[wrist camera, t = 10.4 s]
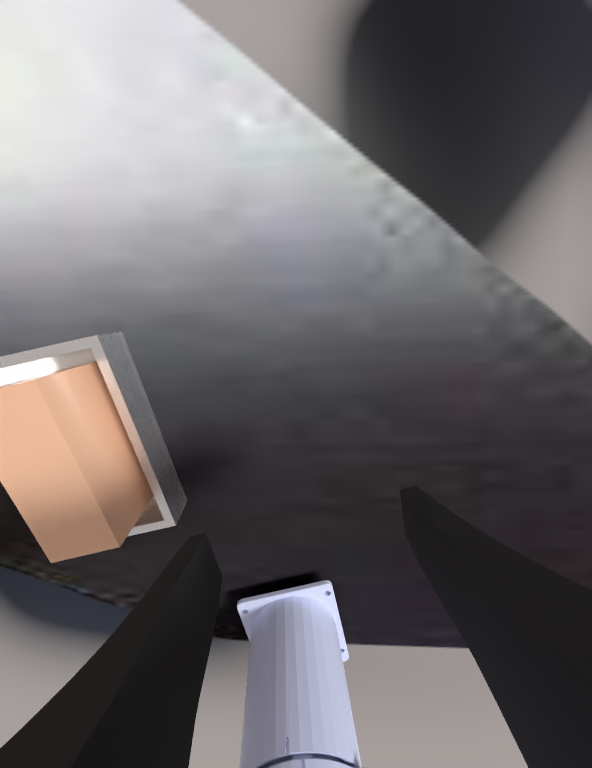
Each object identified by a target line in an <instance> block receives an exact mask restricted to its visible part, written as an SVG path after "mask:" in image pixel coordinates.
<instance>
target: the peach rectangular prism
mask: <svg viewBox="0 0 592 768" xmlns="http://www.w3.org/2000/svg"><path fill="white" fill-rule="evenodd" d="M0 481H1V483H2V484H3V486H4V488H5V489H6V491H7V493H8V494H9V496H10V497H11V499H12V501H13V502H14V504H15V506H16V507H17V509H18V510H19V512H20V514H21V515H22V517H23V519H24V520H25V522H26V523H27V525H28V527H29V528H30V530H31V532H32V533H33V535H34V536H35V538H36V540H37V541H38V543H39V545H40V546H41V548H42V549H43V551H44V553H45V554H46V556H47V558H48V559H49V561H50V562H51V563H54V562H58V561H62V560H67V559H71V558H75V557H79V556H84V555H88V554H92V553H97V552H101V551H105V550H109V549H114V548H118V547H120V546H121V545H122V543H123V542H124V540H125V539H126V537H127V536H128V534H129V533H130V531H131V530H132V528H133V527H134V525H135V524H136V522H137V521H138V519H139V518H140V516H141V515H142V513H143V511H144V510H145V508H146V507H147V505H148V504H149V502H150V501H151V499H152V498H153V496H154V495H153V493H152V490H151V488H150V486H149V483H148V481H147V478H146V476H145V474H144V471H143V469H142V467H141V464H140V462H139V460H138V457H137V455H136V453H135V450H134V448H133V446H132V443H131V441H130V439H129V436H128V434H127V432H126V429H125V427H124V424H123V422H122V420H121V417H120V415H119V413H118V410H117V408H116V406H115V403H114V401H113V399H112V396H111V394H110V392H109V389H108V387H107V385H106V382H105V380H104V377H103V375H102V373H101V370H100V368H99V366H98V363H97V361H94V362H90V363H86V364H82V365H78V366H73V367H69V368H65V369H61V370H56V371H52V372H48V373H44V374H40V375H36V376H33V377H29V378H26V379H22V380H18V381H15V382H11V383H8V384H4V385H1V386H0Z"/></svg>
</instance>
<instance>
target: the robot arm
mask: <svg viewBox="0 0 592 768" xmlns="http://www.w3.org/2000/svg"><path fill="white" fill-rule="evenodd" d="M400 495H401V503H402V510H403V518H404V526H405V534H406V537H407V539H408V541H409V543H410V545H411V548H412V550H413V552H414V554H415V556H416V558H417V560H418V562H419V564H420V566H421V568H422V570H423V571H424V573H425V575H426V576H427V578H428V580H429V582H430V583H431V585H432V587H433V588H434V590H435V592H436V593H437V595H438V597H439V598H440V600H441V602H442V603H443V605H444V607H445V608H446V610H447V612H448V613H449V615H450V617H451V618H452V620H453V622H454V624H455V625H456V627H457V629H458V630H459V632H460V634H461V635H462V637H463V639H464V640H465V642H466V644H467V646H468V648H469V649H470V651H471V653H472V655H473V657H474V658H475V660H476V662H477V664H478V666H479V668H480V670H481V672H482V674H483V676H484V678H485V680H486V682H487V684H488V686H489V688H490V690H491V692H492V694H493V696H494V698H495V700H496V702H497V704H498V706H499V708H500V710H501V712H502V714H503V716H504V718H505V720H506V722H507V724H508V726H509V728H510V731H511V733H512V735H513V737H514V739H515V741H516V743H517V745H518V747H519V749H520V751H521V753H522V755H523V757H524V759H525V761H526V763H527V765H528V768H592V590H590V589H588V588H586V587H584V586H582V585H580V584H578V583H575V582H573V581H571V580H569V579H567V578H565V577H563V576H561V575H559V574H557V573H555V572H553V571H551V570H549V569H547V568H546V567H544V566H542V565H540V564H538V563H536V562H534V561H532V560H530V559H529V558H527V557H525V556H523V555H521V554H519V553H518V552H516V551H514V550H512V549H510V548H509V547H507V546H505V545H504V544H502V543H500V542H499V541H497V540H495V539H494V538H492V537H490V536H489V535H487V534H486V533H484V532H482V531H481V530H479V529H478V528H476V527H475V526H473V525H472V524H470V523H469V522H467V521H466V520H464V519H463V518H461V517H460V516H458V515H457V514H455V513H454V512H452V511H451V510H449V509H448V508H447V507H445V506H444V505H442V504H441V503H439V502H438V501H437V500H435V499H434V498H432V497H431V496H430V495H428V494H427V493H425V492H424V491H423V490H421V489H420V488H418V487H417V486H415V487H410V488H406V489H402V490H400ZM221 581H222V575H221V572H220V569H219V567H218V564H217V561H216V559H215V556H214V554H213V551H212V548H211V546H210V543H209V540H208V538H207V535H206V533H205V534H200V535H196V536H192V537H189V538H188V539H187V541H186V542H185V543H184V544H183V546H182V547H181V548H180V550H179V551H178V552H177V554H176V555H175V556H174V558H173V559H172V560H171V561H170V563H169V564H168V565H167V567H166V568H165V569H164V571H163V572H162V573H161V575H160V576H159V577H158V578H157V580H156V581H155V582H154V584H153V585H152V586H151V587H150V589H149V590H148V591H147V593H146V594H145V595H144V596H143V598H142V599H141V600H140V601H139V603H138V604H137V605H136V606H135V607H134V609H133V610H132V611H131V612H130V614H129V615H128V616H127V617H126V618H125V620H124V621H123V622H122V623H121V624H120V626H119V627H118V628H117V629H116V631H115V632H114V633H113V634H112V635H111V636H110V637H109V638H108V640H107V641H106V642H105V643H104V644H103V645H102V646H101V648H100V649H99V650H98V651H97V652H96V653H95V654H94V655H93V656H92V657H91V658H90V659H89V661H88V662H87V663H86V664H85V665H84V666H83V667H82V668H81V669H80V670H79V671H78V672H77V673H76V675H75V676H74V677H73V678H72V679H71V680H70V681H69V682H68V683H67V684H66V685H65V686H64V687H63V688H62V689H61V690H60V691H59V692H58V693H57V694H56V695H55V696H54V697H53V698H52V699H51V700H50V701H49V702H48V703H47V704H46V705H45V706H44V707H43V708H42V709H41V710H40V711H39V712H38V713H37V714H36V715H35V716H34V717H33V718H32V719H31V720H30V721H29V722H28V723H27V724H26V725H25V726H24V727H23V728H22V729H21V730H19V731H18V732H17V733H16V734H15V735H14V736H13V737H12V738H11V739H10V740H9V741H8V742H7V743H6V744H5V745H4V746H2V747H1V748H0V768H188V766H189V759H190V752H191V746H192V738H193V732H194V724H195V718H196V713H197V708H198V702H199V697H200V693H201V688H202V683H203V679H204V674H205V669H206V665H207V660H208V656H209V651H210V647H211V642H212V637H213V633H214V628H215V623H216V619H217V614H218V608H219V600H220V591H221ZM237 610H238V612H239V615H240V618H241V620H242V623H243V626H244V628H245V631H246V634H247V636H248V639H249V641H250V651H249V663H248V675H247V686H246V699H245V710H244V721H243V734H242V744H241V745H242V746H241V757H240V768H362V767H361V761H360V755H359V750H358V744H357V739H356V733H355V727H354V722H353V716H352V711H351V705H350V700H349V694H348V688H347V683H346V678H345V672H344V666H343V662H345V661H347V660H348V658H349V655H348V650H347V646H346V642H345V638H344V633H343V629H342V625H341V621H340V616H339V612H338V608H337V604H336V600H335V595H334V591H333V587H332V583H331V582H330V581H328V580H324V581H320V582H315V583H311V584H306V585H302V586H297V587H293V588H288V589H284V590H279V591H275V592H270V593H266V594H262V595H257V596H253V597H248V598H244V599H240V600H239V601H238V603H237Z"/></svg>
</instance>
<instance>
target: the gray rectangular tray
mask: <svg viewBox="0 0 592 768" xmlns="http://www.w3.org/2000/svg"><path fill="white" fill-rule="evenodd" d="M94 361H97V363H98V366H99V368H100V370H101V373H102V375H103V377H104V380H105V382H106V385H107V387H108V389H109V392H110V394H111V396H112V399H113V401H114V403H115V406H116V408H117V410H118V413H119V415H120V417H121V420H122V422H123V424H124V427H125V429H126V432H127V434H128V436H129V439H130V441H131V443H132V446H133V448H134V450H135V453H136V455H137V457H138V460H139V462H140V464H141V467H142V469H143V471H144V474H145V476H146V478H147V481H148V483H149V486H150V488H151V490H152V493H153V495H154V496H153V498H152V499H151V501H150V502H149V504H148V505H147V507H146V508H145V510H144V511H143V513H142V515H141V516H140V518H139V519H138V521H137V522H136V524H135V525H134V527H133V528H132V530H131V531H130V533H129V534H128V536H131V535H136V534H140V533H145V532H149V531H154V530H158V529H162V528H167V527H171V526H176V524H177V522H178V520H179V518H180V516H181V514H182V512H183V509H184V507H185V505H186V503H187V498H186V496H185V493H184V490H183V488H182V485H181V483H180V480H179V477H178V475H177V472H176V470H175V467H174V465H173V462H172V459H171V457H170V454H169V452H168V449H167V447H166V444H165V441H164V439H163V436H162V434H161V431H160V428H159V426H158V423H157V421H156V418H155V416H154V413H153V410H152V408H151V405H150V403H149V400H148V398H147V395H146V392H145V390H144V387H143V385H142V382H141V379H140V377H139V374H138V372H137V369H136V367H135V364H134V361H133V359H132V356H131V354H130V351H129V349H128V346H127V343H126V341H125V338H124V336H123V333H122V331H120V332H114V333H107V334H101V335H95V336H91V337H86V338H82V339H77V340H73V341H68V342H64V343H60V344H55V345H51V346H46V347H42V348H37V349H33V350H28V351H24V352H20V353H15V354H11V355H6V356H2V357H0V386H1V385H4V384H8V383H11V382H15V381H18V380H22V379H26V378H29V377H33V376H36V375H40V374H44V373H48V372H52V371H56V370H61V369H65V368H69V367H73V366H78V365H82V364H86V363H90V362H94Z"/></svg>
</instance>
